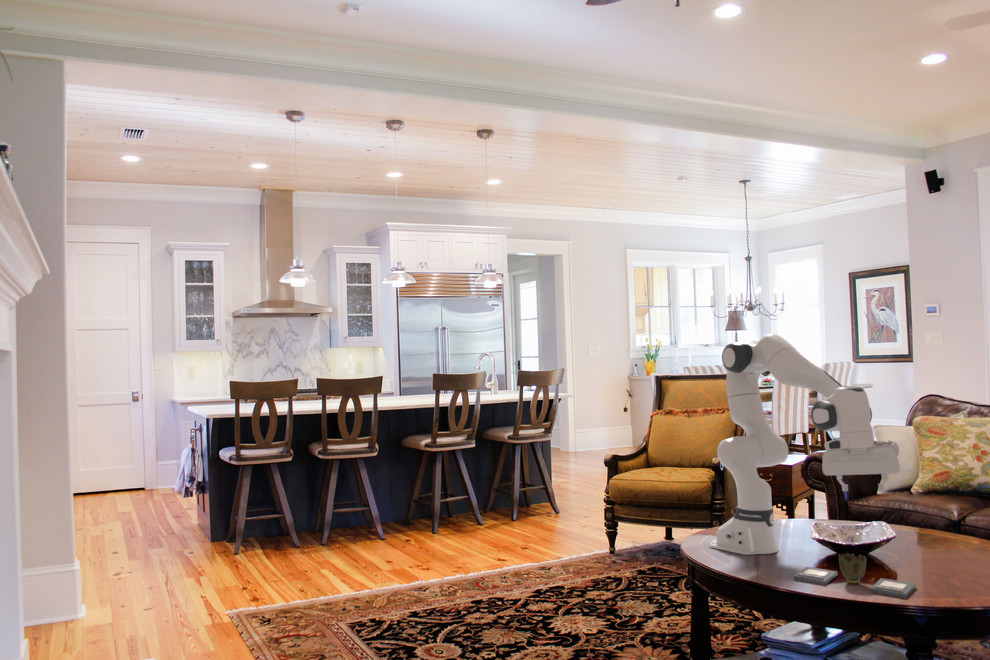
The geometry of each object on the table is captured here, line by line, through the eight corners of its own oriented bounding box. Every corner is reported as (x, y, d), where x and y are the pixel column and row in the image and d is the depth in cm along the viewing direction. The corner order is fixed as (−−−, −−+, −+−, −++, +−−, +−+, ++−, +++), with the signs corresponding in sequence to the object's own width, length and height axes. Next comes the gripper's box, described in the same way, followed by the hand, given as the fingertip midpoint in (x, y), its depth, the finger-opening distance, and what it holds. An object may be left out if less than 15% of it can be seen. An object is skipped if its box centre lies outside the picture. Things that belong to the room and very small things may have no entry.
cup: (835, 584, 220) (834, 556, 220) (844, 578, 225) (843, 551, 225) (862, 589, 214) (860, 560, 215) (871, 583, 219) (870, 555, 220)
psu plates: (793, 579, 225) (793, 573, 225) (806, 570, 234) (806, 564, 234) (906, 598, 205) (905, 592, 205) (915, 587, 215) (915, 581, 215)
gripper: (897, 439, 217) (904, 488, 215) (820, 443, 226) (826, 490, 224) (897, 440, 211) (904, 490, 209) (818, 444, 220) (824, 492, 218)
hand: (863, 490), depth 216 cm, fingers open, 8 cm apart
